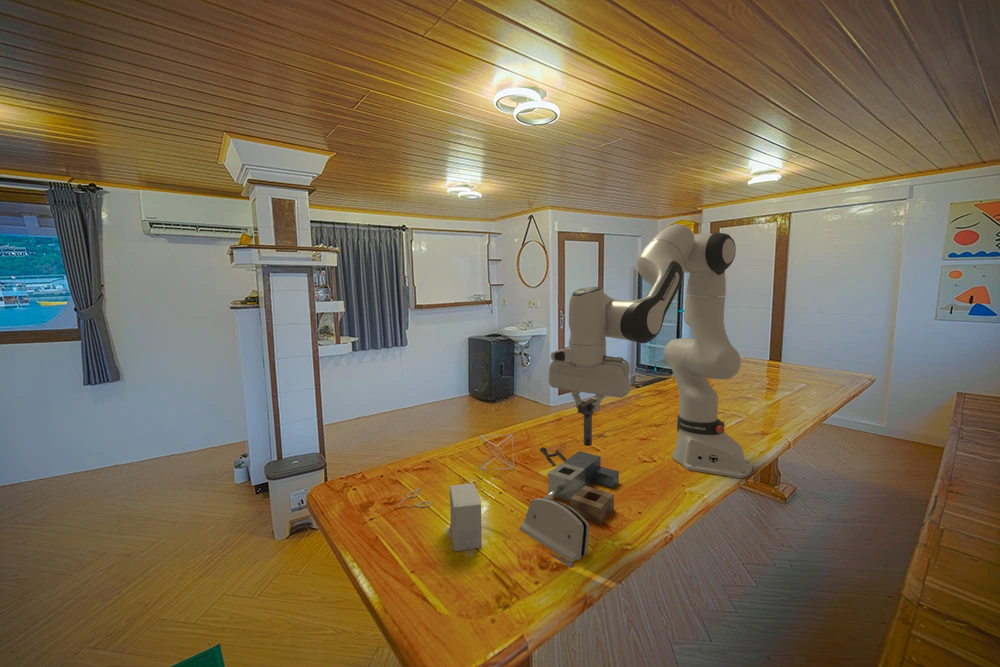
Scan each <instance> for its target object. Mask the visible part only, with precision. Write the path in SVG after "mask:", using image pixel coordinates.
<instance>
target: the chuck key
mask: <svg viewBox="0 0 1000 667" xmlns="http://www.w3.org/2000/svg"><path fill="white" fill-rule="evenodd" d="M596 401H597V398H589V399H587V400H584V402H583V403H582V404H580V405H578V408H577V413H578V414H582V416H583V445H584V446H585V447H591V446H592V445H593V415H594V412H595V411H592V410H591V408H592V407H591V404H593V403H594V402H595V403H596Z"/></svg>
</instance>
